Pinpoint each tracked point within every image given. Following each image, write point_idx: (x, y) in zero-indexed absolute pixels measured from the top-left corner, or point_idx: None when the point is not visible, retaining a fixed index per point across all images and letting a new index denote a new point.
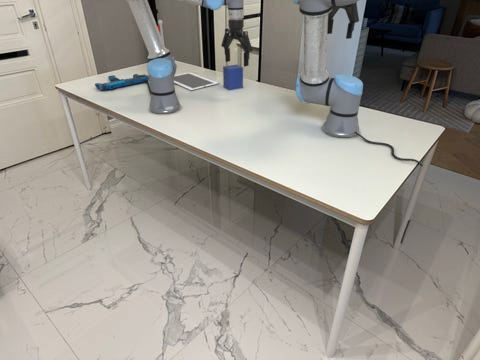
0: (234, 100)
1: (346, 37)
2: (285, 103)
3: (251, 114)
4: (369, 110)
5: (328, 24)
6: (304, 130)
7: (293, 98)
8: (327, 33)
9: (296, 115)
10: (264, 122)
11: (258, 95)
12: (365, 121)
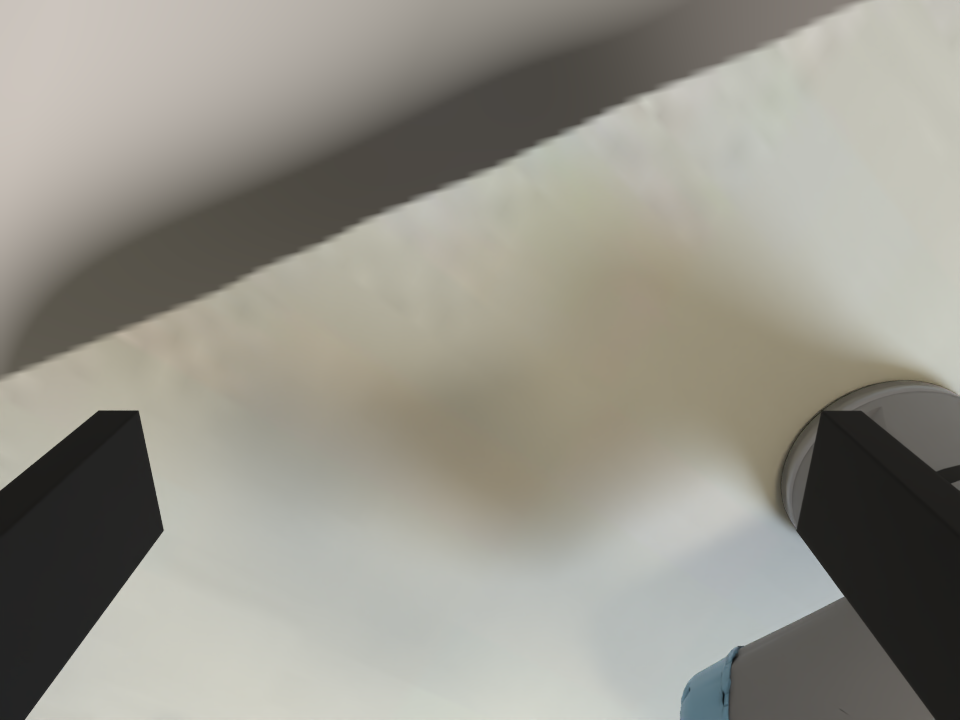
0: (193, 700)
1: (821, 544)
2: (365, 494)
3: (432, 713)
4: (798, 48)
5: (11, 711)
6: (751, 613)
7: (299, 398)
8: (152, 537)
9: (569, 543)
10: (557, 709)
11: (154, 559)
12: (904, 245)
